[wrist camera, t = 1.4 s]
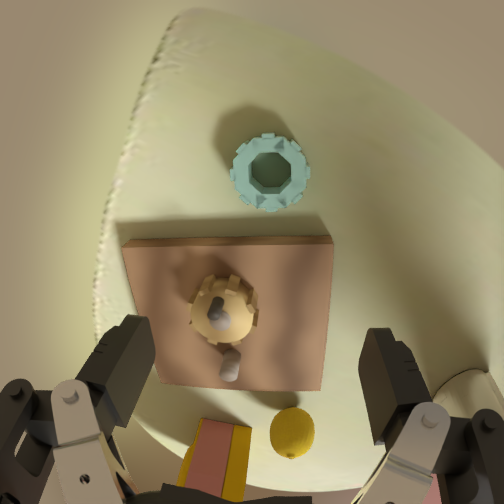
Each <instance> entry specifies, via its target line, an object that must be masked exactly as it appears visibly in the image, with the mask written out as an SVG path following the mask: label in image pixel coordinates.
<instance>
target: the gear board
mask: <svg viewBox="0 0 504 504" xmlns="http://www.w3.org/2000/svg"><path fill="white" fill-rule="evenodd" d="M121 249H122V253H123V257H124V262H125V266H126V270H127V274H128V278H129V282H130V285H131V289H132V293H133V297H134V300H135V304H136V307H137V311H138V314H139V316H146V317H148V319H149V322H150V326H151V331H152V335H153V339H154V344H155V349H156V355H155V361H154V364H155V367H156V370H157V372H158V375H159V378H160V381H161V383H166V384H174V385H183V386H192V387H203V388H215V389H230V390H250V391H320V389H321V382H322V374H323V366H324V358H325V349H326V340H327V330H328V320H329V309H330V297H331V283H332V268H333V250H334V244H333V241H332V238H331V236H256V237H208V238H169V239H136V240H129V241H128V242H127V243H126V244H125V245H124V246H123V247H122V248H121Z"/></svg>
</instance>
